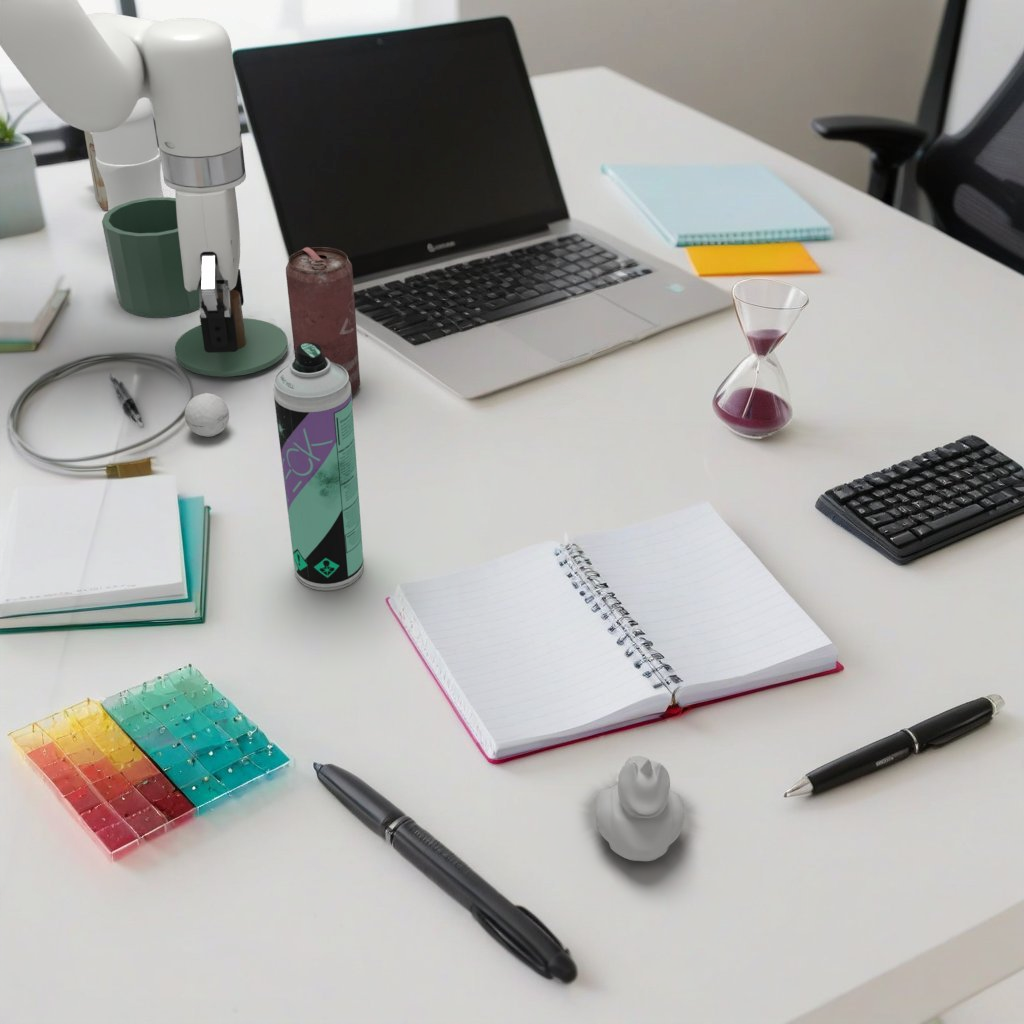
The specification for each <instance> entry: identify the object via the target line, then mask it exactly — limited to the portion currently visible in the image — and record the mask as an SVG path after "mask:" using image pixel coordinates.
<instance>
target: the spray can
mask: <svg viewBox="0 0 1024 1024" xmlns="http://www.w3.org/2000/svg"><path fill="white" fill-rule="evenodd" d="M273 385H274V386H273V390H272V392H273V398H274V407H275V414H276V415H275V416H276V426H277V433H278V440H279V441H278V443H279V448H280V449H279V450H280V457H281V459H280V460H281V466H282V475H283V483H284V490H285V491H284V492H285V498H286V499H285V500H286V508H287V516H288V518H287V519H288V526H289V533H290V541H291V550H292V559H293V567H294V573H295V576H296V579H297V580H298V581H299V583H301V584H302V585H303V586H305V587H307V588H309V589H312V590H316V591H326V592H327V591H337V590H340V589H344V588H346V587H349V586H350V585H352V584H354V583H355V582H356V581H358V579H359V578H360V577H361V576H362V574H363V572H364V551H363V548H364V547H363V537H362V536H363V535H362V521H361V520H362V519H361V508H360V493H359V479H358V466H357V451H356V439H355V438H356V436H355V426H354V425H355V423H354V410H353V396H352V394H351V384H350V381H349V375H348V372H347V371H346V369H344V368H343V367H342V366H340V365H339V364H336V363H334V362H330V361H329V360H328V359H327V358H326V357H324V356H323V355H322V352H321V347H320V346H319V345H318V344H315V343H303V344H301V345H299V346H298V347H297V357H296V358H295V357H294V358H293V359H292V360H291V361H290V363H289V364H287V365H285V366H283V367H282V368H280V369H279V370H278V371H277V372H276V373H275V375H274V377H273Z"/></svg>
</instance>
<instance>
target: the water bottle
mask: <svg viewBox="0 0 1024 1024" xmlns="http://www.w3.org/2000/svg"><path fill="white" fill-rule="evenodd" d="M92 137H93V142H94V148H95V153H96V157H95V159H96V164H97V167H98V170H99V172H100V174H101V177H102V179H103V182H104V185H105V188H106V193H107V199H108V210H107V212H108V211H110V210H111V209H112V208H114V207H116V206H118V205H121V204H124V203H127V202H130V201H134V200H139V199H145V198H162V197H165V196H164V192H163V186H162V178H161V176H162V175H161V170H162V164H161V158H160V151H159V144H158V138H157V132H156V126H155V120H154V112H153V106H152V102H151V101H150V100H149V99H148V98H141V99H139V100H138V101H137V103H136V105H135V107H134V109H133V111H132V113H131V115H130V116H129V117H128V118H127V120H126V121H125V122H124V123H122V124H121V125H119V126H118V127H116V128H114V129H112V130H109V131H104V132H92Z"/></svg>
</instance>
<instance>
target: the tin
mask: <svg viewBox="0 0 1024 1024" xmlns="http://www.w3.org/2000/svg"><path fill="white" fill-rule="evenodd" d="M101 225H102V230H103V235H104V239H105V244H106V249H107V254H108V259H109V263H110V268H111V273H112V277H113V278H112V279H113V283H114V289H115V294H116V298H117V300H118V303H119V306H120V307H121V308H122V309H123V310H124V311H125V312H127V313H129V314H132V315H135V316H138V317H144V318H158V319H159V318H161V319H162V318H171V317H178V316H183V315H187V314H191V313H193V312H196V311H198V310H200V296H199V284H198V287H197V290H193V291H192V292H189V291H187V290H186V289H185V286H184V278H183V268H182V260H181V251H180V243H179V234H178V224H177V213H176V197H167V196H166V197H165V196H164V197H162V198H145V199H139V200H134V201H130V202H127V203H124V204H121V205H118V206H116V207H114V208H112V209H111V210H110V211H108V210H107V212H105V213H104V215H103V217H102V219H101Z"/></svg>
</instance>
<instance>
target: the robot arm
mask: <svg viewBox="0 0 1024 1024" xmlns="http://www.w3.org/2000/svg"><path fill="white" fill-rule="evenodd" d="M0 48H1V49H2V50H3V52H4V54H6V56H7V57H8V58H9V60H10V61H11V63H12V64H13V65H14V66H15V67H16V69H17V70H18V72H19V73H20V74H21V76H22V77H23V78H24V79H25V81H26V82H27V83H28V85H29V86H30V87H31V89H32V90H33V92H34V93H35V94H36V95H37V96H38V98H39V99H40V100H41V101H42V102H43V104H44V105H45V106H46V107H47V108H48V110H50V111H51V112H52V113H53V114H54V115H55V116H57V118H59V119H60V120H62V121H63V122H64V123H66V124H68V125H69V126H71V127H73V128H75V129H77V130H80V131H83V132H84V131H88V132H104V131H109V130H112V129H114V128H116V127H118V126H119V125H121V124H122V123H124V122H125V121H126V120H127V118H128V117H129V116H130V115H131V113H132V111H133V109H134V107H135V105H136V103H137V101H138V100H139V99H141V98H148V99H149V100H150V102H151V104H152V108H153V119H154V126H155V132H156V138H157V145H158V150H159V151H160V158H161V170H162V175H163V177H162V178H163V182H164V184H165V185H166V186H167V187H169V188H170V189H173V190H174V191H175V198H176V213H177V224H178V234H179V243H180V251H181V260H182V268H183V278H184V286H185V289H186V290H187V291H189V292H192V291H193V290H197V287H198V284H199V296H200V309H199V321H200V325H201V328H202V335H203V342H204V349H205V351H206V352H208V353H214V352H235V351H237V350H238V341H237V333H236V325H235V317H234V313H231V309H230V291H231V290H232V289H233V290H236V291H238V292H239V293H240V299H241V306H244V301H245V300H244V293H243V292H244V291H243V283H242V276H241V269H240V261H241V233H240V230H241V229H240V220H239V210H238V201H237V192H236V187H238V186H239V185H241V184H242V183H244V181H245V180H246V178H247V174H246V172H247V171H246V164H245V156H244V155H245V154H244V148H243V138H242V130H241V121H240V113H239V102H238V101H239V100H238V93H237V85H236V75H235V66H234V58H233V57H234V56H233V48H232V43H231V39H230V35H229V34H228V31H227V30H226V29H225V27H223V26H222V25H221V24H219V23H218V22H215V21H213V20H209V19H205V18H198V17H177V18H170V19H169V18H168V19H165V20H156V19H150V18H141V17H135V16H129V15H125V14H117V13H109V12H94V13H89V14H87V13H86V12H85V10H84V9H83V7H82V6H81V4H80V2H79V0H0ZM222 292H223V301H222V300H221V298H218V294H217V293H222ZM223 304H224V305H223Z"/></svg>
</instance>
